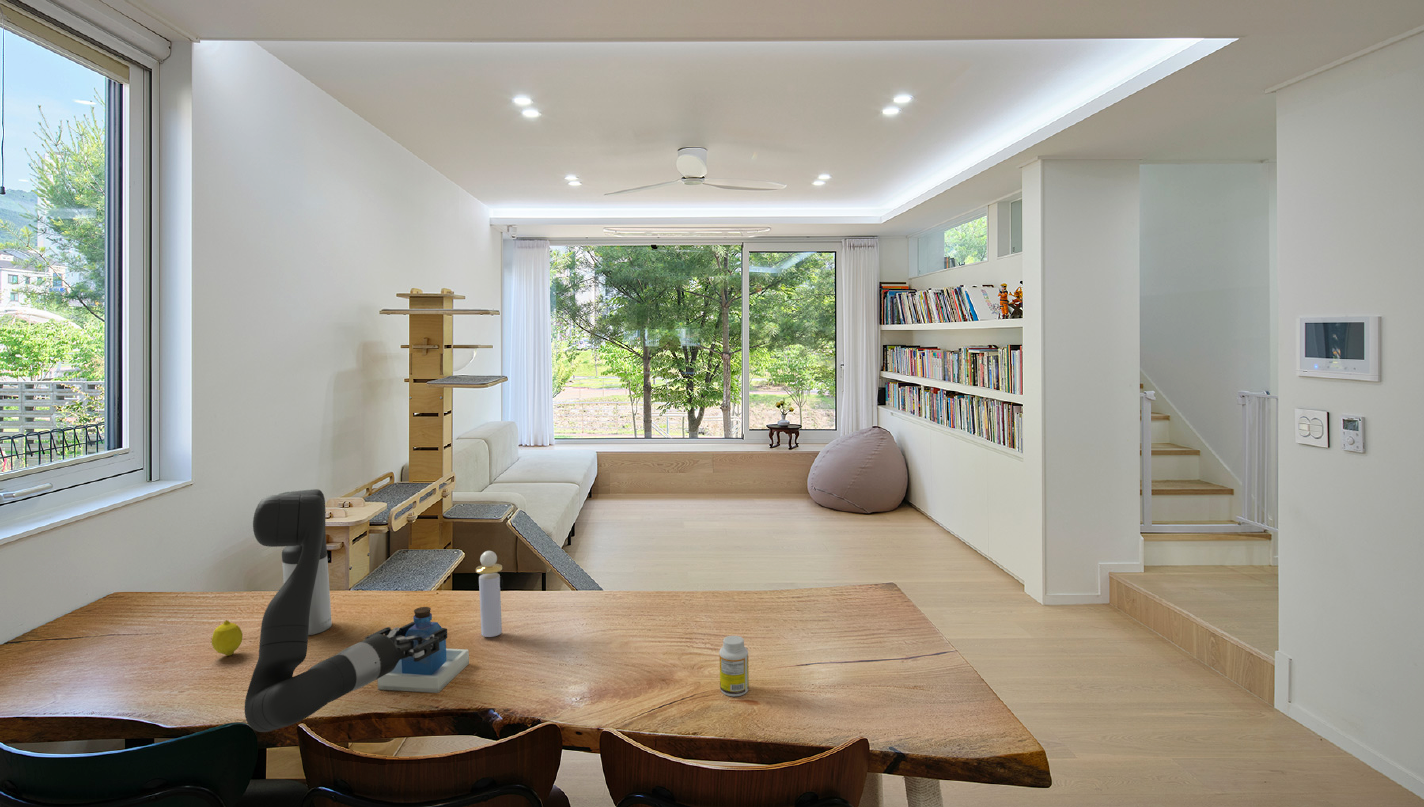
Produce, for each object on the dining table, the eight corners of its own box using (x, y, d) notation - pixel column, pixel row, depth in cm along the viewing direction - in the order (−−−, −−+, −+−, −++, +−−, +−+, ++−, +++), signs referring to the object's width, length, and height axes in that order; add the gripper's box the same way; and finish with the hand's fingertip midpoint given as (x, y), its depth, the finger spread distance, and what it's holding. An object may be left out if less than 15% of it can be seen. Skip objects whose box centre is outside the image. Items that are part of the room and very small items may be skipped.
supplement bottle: (731, 680, 141) (731, 631, 140) (754, 689, 138) (754, 638, 137) (713, 691, 137) (713, 640, 136) (736, 701, 133) (736, 648, 132)
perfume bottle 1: (446, 661, 147) (444, 604, 146) (431, 674, 141) (429, 616, 140) (418, 659, 148) (415, 603, 147) (402, 673, 142) (399, 614, 141)
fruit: (206, 659, 153) (203, 623, 153) (232, 648, 159) (229, 613, 158) (225, 663, 152) (222, 626, 151) (249, 652, 157) (247, 616, 156)
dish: (378, 689, 139) (377, 674, 139) (413, 660, 152) (412, 646, 151) (438, 692, 138) (437, 678, 137) (469, 663, 150) (468, 649, 150)
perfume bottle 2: (492, 643, 160) (489, 556, 158) (473, 638, 162) (469, 553, 160) (510, 633, 165) (506, 549, 163) (490, 629, 168) (487, 546, 166)
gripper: (392, 649, 128) (457, 616, 143) (334, 637, 133) (403, 606, 148) (393, 689, 128) (458, 652, 143) (336, 675, 134) (404, 641, 149)
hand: (430, 629), depth 146 cm, fingers closed on perfume bottle 1, 7 cm apart
